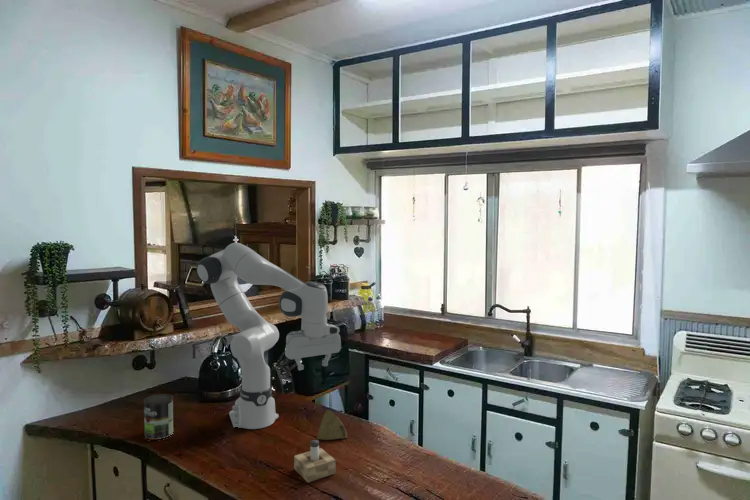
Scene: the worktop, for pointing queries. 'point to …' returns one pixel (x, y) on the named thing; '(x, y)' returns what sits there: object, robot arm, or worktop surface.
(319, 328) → the robot arm
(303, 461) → the wooden block with hole
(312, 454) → the long grey cylinder
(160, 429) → the coffee can
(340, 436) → the rock
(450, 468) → the worktop surface
